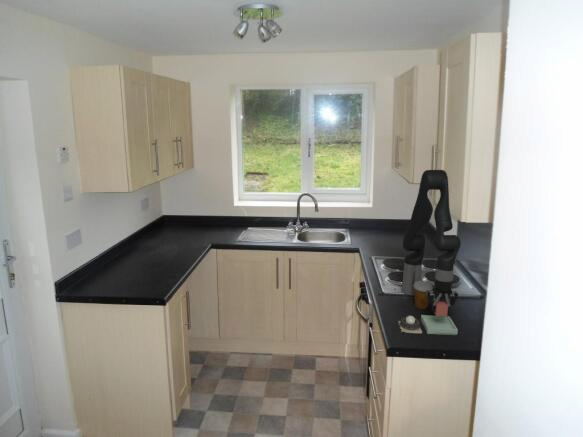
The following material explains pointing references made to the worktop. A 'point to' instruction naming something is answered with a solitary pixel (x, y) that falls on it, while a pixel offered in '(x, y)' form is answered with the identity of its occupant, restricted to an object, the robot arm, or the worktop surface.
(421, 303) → the disposable coffee cup
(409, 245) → the robot arm
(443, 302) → the cube
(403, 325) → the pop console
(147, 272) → the worktop surface
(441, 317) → the tray
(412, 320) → the dome
